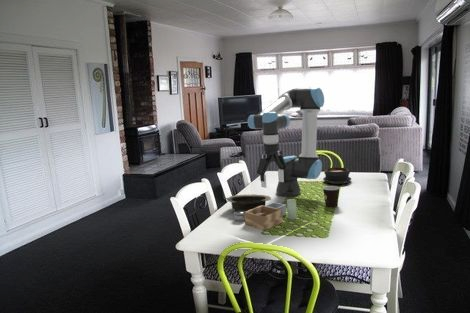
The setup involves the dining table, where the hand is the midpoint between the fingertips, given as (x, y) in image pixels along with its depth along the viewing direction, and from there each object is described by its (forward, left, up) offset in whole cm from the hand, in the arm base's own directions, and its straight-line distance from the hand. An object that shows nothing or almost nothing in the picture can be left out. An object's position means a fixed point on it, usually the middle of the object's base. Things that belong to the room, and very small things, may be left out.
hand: (272, 184), depth 192 cm
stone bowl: (-1, -18, -17) cm, 25 cm away
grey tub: (0, +1, -17) cm, 17 cm away
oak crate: (+12, +4, -17) cm, 21 cm away
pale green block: (-2, +10, -17) cm, 20 cm away
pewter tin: (+15, -9, -17) cm, 25 cm away
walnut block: (+12, 0, -16) cm, 20 cm away
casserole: (-80, -10, -17) cm, 82 cm away
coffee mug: (-33, +14, -17) cm, 39 cm away
